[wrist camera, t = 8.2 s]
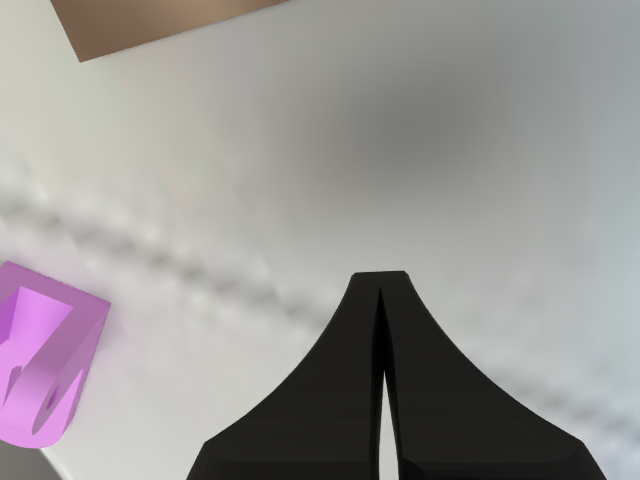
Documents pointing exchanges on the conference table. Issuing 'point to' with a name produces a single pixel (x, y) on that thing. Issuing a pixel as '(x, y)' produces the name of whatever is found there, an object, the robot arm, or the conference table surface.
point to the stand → (139, 20)
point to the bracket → (43, 353)
